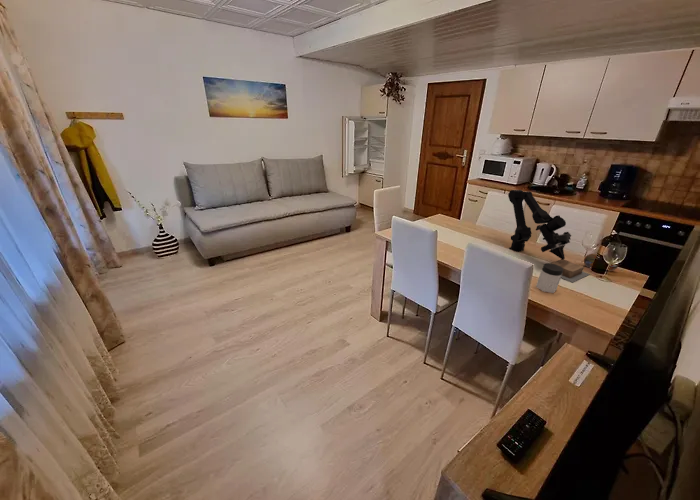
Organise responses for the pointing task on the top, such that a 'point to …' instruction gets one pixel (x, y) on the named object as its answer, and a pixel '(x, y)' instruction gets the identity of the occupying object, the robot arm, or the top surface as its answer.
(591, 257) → the tin
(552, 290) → the jar
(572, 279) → the mat
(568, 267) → the block
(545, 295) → the top surface
